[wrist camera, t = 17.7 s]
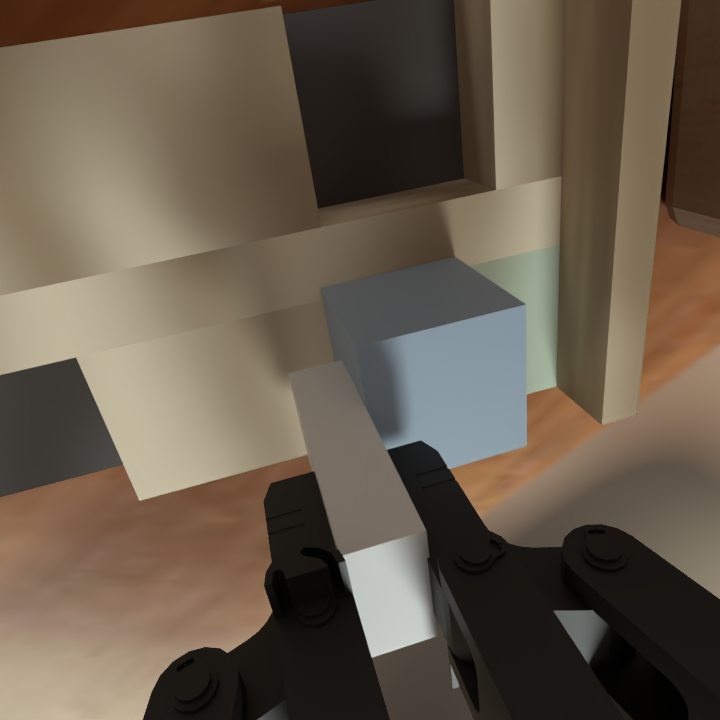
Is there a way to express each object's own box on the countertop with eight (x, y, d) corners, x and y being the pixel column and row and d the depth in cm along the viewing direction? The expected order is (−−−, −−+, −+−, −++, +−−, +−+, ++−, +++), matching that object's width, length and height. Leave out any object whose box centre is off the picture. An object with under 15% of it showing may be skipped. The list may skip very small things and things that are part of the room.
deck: (-106, 520, 18) (-205, 658, 14) (-401, 119, 12) (-732, 138, 8) (548, 347, 21) (636, 414, 17) (554, -27, 16) (688, -69, 11)
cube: (343, 408, 17) (379, 489, 14) (320, 287, 15) (355, 347, 12) (463, 375, 18) (526, 446, 14) (455, 257, 16) (526, 304, 13)
